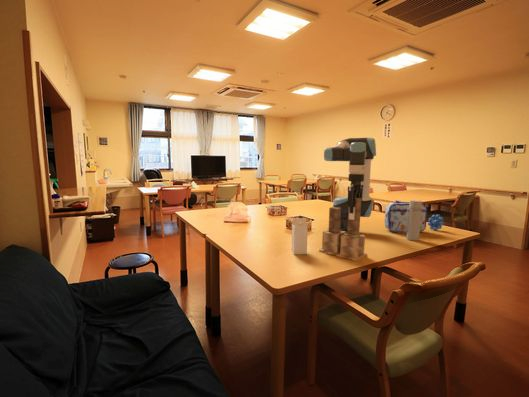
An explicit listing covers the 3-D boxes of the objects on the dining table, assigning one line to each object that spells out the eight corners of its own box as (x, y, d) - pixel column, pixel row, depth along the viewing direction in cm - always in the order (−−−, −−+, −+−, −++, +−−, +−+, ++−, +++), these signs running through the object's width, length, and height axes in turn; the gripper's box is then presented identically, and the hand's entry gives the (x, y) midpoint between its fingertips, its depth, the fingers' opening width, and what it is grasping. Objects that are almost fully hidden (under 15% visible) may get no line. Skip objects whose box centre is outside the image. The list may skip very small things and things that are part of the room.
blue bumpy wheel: (446, 231, 201) (448, 215, 199) (440, 232, 198) (442, 215, 196) (431, 228, 211) (433, 212, 210) (425, 228, 209) (426, 212, 207)
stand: (319, 251, 157) (319, 231, 155) (330, 246, 166) (330, 228, 164) (356, 261, 142) (358, 240, 140) (366, 255, 151) (368, 235, 149)
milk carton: (291, 250, 158) (292, 216, 155) (304, 250, 159) (304, 216, 156) (293, 254, 151) (294, 219, 148) (306, 254, 152) (308, 219, 149)
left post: (327, 248, 157) (328, 207, 154) (331, 246, 161) (333, 206, 157) (335, 250, 154) (337, 209, 151) (339, 248, 157) (341, 207, 154)
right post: (346, 241, 149) (348, 198, 146) (350, 239, 152) (352, 197, 149) (355, 243, 146) (357, 199, 142) (359, 241, 149) (361, 198, 146)
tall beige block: (418, 238, 183) (421, 200, 180) (420, 241, 176) (423, 202, 172) (402, 237, 186) (405, 199, 183) (403, 240, 179) (407, 201, 175)
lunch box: (386, 233, 196) (388, 201, 193) (381, 229, 206) (383, 199, 203) (427, 233, 195) (430, 202, 192) (419, 229, 206) (422, 199, 203)
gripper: (355, 174, 135) (353, 222, 138) (370, 173, 148) (368, 217, 151) (341, 173, 140) (339, 220, 143) (357, 172, 153) (354, 215, 156)
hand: (354, 218), depth 147 cm, fingers closed on right post, 4 cm apart
